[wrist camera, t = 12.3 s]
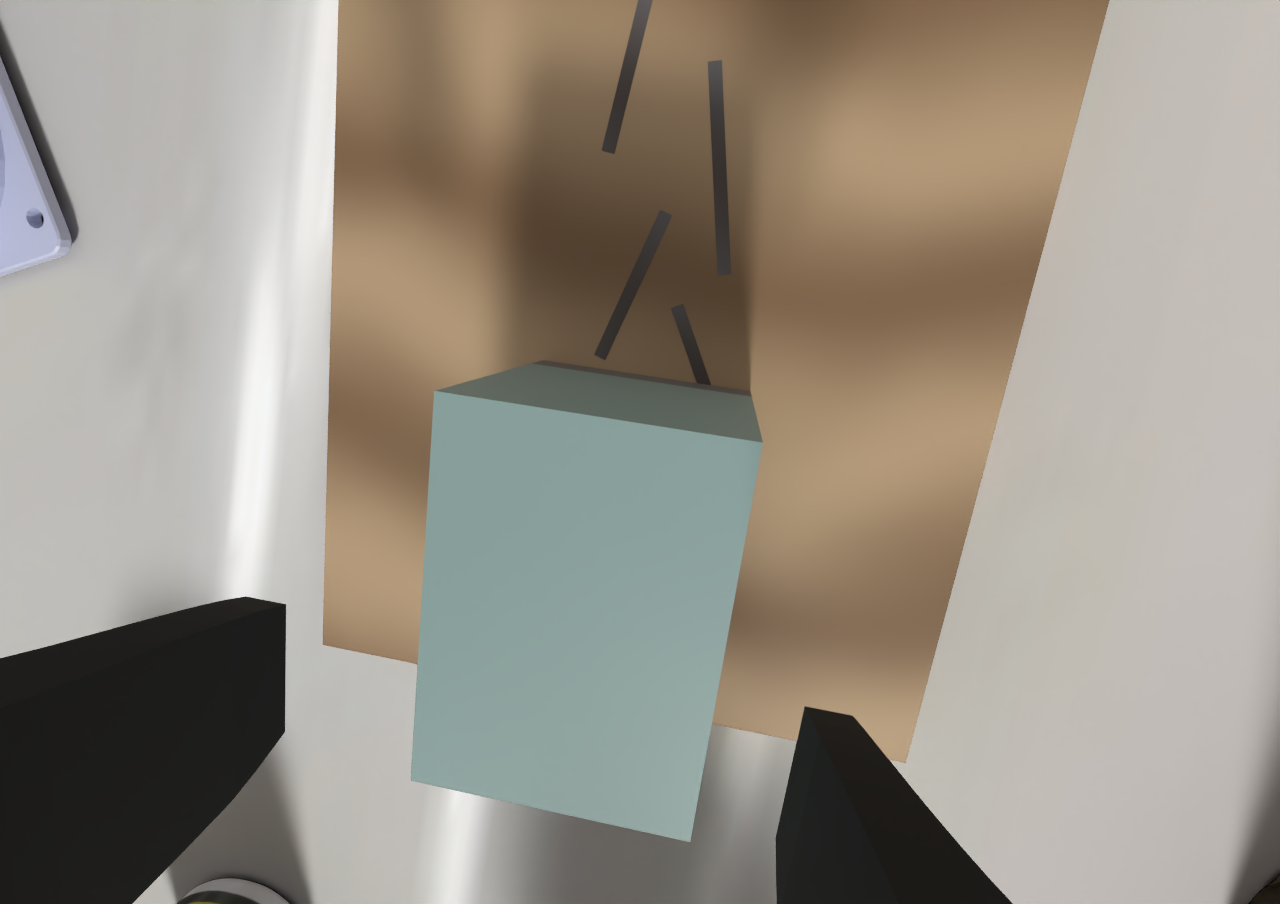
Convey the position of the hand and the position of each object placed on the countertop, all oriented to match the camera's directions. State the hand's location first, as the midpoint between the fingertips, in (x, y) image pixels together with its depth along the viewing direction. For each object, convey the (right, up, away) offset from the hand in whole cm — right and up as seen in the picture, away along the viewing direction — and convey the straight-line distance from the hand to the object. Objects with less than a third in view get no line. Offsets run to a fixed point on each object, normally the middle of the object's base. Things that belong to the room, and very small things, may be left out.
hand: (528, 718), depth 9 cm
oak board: (+2, +9, +7) cm, 12 cm away
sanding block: (+1, +2, +8) cm, 8 cm away
